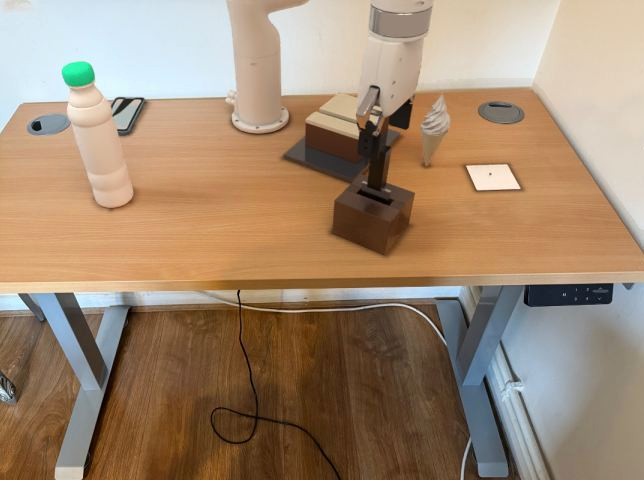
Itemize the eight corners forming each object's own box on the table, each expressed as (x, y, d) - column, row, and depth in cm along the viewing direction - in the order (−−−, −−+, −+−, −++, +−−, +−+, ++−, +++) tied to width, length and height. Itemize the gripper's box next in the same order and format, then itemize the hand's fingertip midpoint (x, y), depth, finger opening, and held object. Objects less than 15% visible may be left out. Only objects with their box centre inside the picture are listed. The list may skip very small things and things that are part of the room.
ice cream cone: (439, 174, 102) (457, 100, 91) (412, 171, 103) (427, 98, 92) (439, 159, 105) (456, 86, 95) (413, 157, 106) (427, 85, 95)
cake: (317, 134, 111) (318, 108, 107) (337, 118, 116) (339, 92, 111) (369, 151, 106) (372, 124, 102) (387, 134, 111) (391, 107, 106)
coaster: (520, 188, 98) (522, 185, 97) (477, 190, 98) (478, 186, 98) (507, 164, 103) (508, 160, 103) (465, 165, 104) (466, 162, 103)
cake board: (283, 158, 107) (283, 154, 107) (334, 116, 118) (334, 112, 118) (353, 183, 101) (353, 179, 100) (400, 136, 112) (400, 132, 111)
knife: (354, 227, 92) (363, 145, 80) (360, 221, 93) (369, 140, 82) (380, 238, 90) (393, 155, 78) (386, 231, 91) (399, 149, 79)
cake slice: (304, 145, 109) (305, 118, 104) (314, 137, 111) (315, 111, 106) (356, 163, 104) (359, 136, 99) (365, 155, 106) (368, 127, 101)
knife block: (331, 233, 91) (334, 200, 86) (357, 206, 96) (361, 173, 91) (384, 255, 87) (390, 222, 82) (408, 225, 92) (415, 192, 87)
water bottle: (101, 214, 97) (57, 80, 78) (91, 193, 101) (48, 62, 83) (139, 202, 99) (104, 69, 81) (128, 182, 103) (92, 52, 85)
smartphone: (95, 131, 115) (115, 96, 125) (96, 135, 116) (116, 100, 126) (128, 132, 115) (146, 97, 125) (129, 136, 115) (147, 101, 125)
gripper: (402, -7, 73) (387, 110, 85) (338, 36, 63) (331, 161, 76) (455, 3, 70) (431, 123, 82) (396, 49, 60) (379, 177, 73)
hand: (383, 141), depth 79 cm, fingers open, 9 cm apart
